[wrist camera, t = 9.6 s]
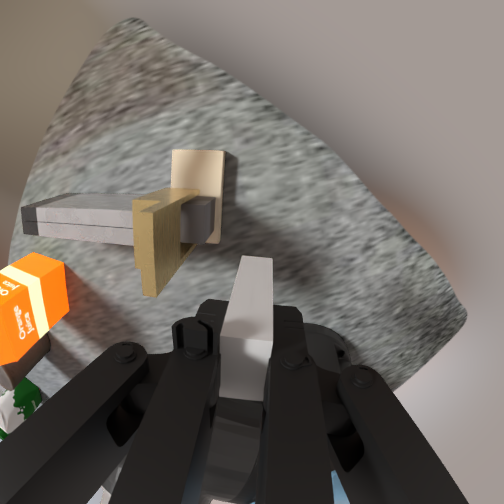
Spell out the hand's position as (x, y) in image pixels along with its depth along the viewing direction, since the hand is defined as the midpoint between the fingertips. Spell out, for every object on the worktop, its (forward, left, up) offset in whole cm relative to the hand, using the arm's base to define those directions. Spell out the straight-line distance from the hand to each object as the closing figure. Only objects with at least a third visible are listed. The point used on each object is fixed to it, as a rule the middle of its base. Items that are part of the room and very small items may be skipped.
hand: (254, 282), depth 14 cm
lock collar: (+8, 0, -14) cm, 16 cm away
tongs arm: (+18, -1, -17) cm, 25 cm away
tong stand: (+7, -2, -17) cm, 19 cm away
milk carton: (+57, +49, -18) cm, 77 cm away
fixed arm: (+18, +1, -17) cm, 25 cm away
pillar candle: (+43, +26, -18) cm, 53 cm away
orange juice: (+33, +13, -18) cm, 40 cm away
